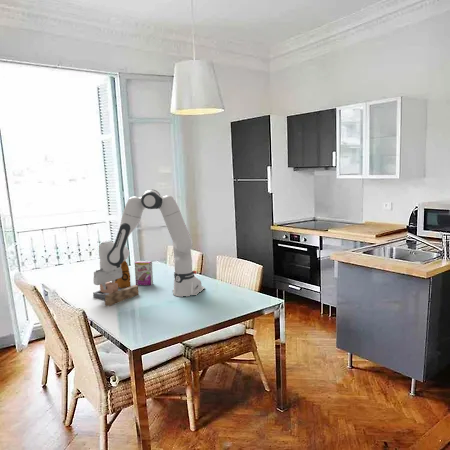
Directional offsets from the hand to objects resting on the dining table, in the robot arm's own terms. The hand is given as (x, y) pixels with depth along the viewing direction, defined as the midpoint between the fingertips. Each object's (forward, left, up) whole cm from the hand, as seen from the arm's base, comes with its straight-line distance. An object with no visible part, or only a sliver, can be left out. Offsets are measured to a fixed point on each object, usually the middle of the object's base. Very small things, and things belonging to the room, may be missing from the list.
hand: (109, 288), depth 244 cm
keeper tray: (0, 0, -6) cm, 6 cm away
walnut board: (0, +12, -6) cm, 13 cm away
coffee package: (-20, -10, -6) cm, 23 cm away
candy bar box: (-30, +1, -6) cm, 31 cm away
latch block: (0, 0, -3) cm, 3 cm away
